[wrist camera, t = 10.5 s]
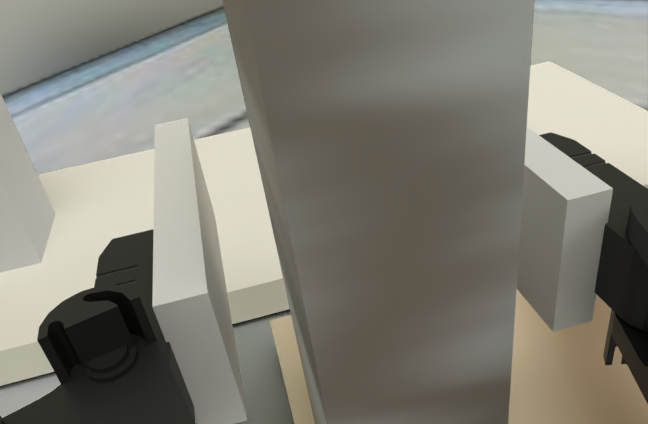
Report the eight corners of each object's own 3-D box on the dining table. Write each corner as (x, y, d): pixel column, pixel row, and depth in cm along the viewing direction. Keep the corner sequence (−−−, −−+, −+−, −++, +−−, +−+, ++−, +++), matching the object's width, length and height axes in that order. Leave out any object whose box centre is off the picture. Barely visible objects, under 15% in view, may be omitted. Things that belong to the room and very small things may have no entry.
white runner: (547, 84, 36) (568, -175, 29) (733, 191, 24) (847, -201, 17) (13, 205, 32) (-120, -63, 25) (-70, 404, 20) (-372, 5, 13)
